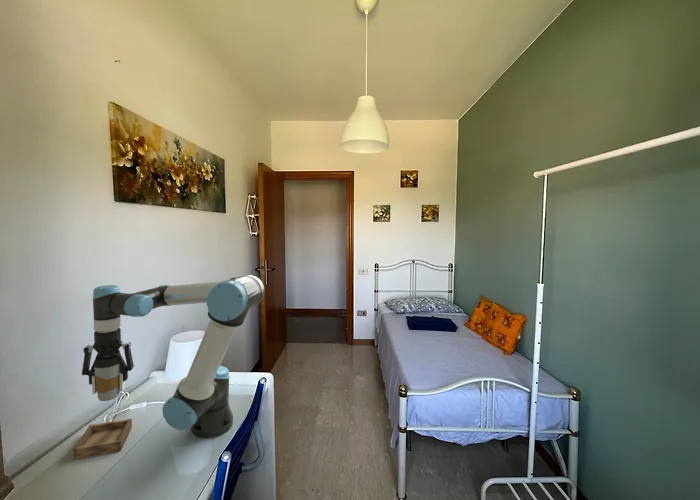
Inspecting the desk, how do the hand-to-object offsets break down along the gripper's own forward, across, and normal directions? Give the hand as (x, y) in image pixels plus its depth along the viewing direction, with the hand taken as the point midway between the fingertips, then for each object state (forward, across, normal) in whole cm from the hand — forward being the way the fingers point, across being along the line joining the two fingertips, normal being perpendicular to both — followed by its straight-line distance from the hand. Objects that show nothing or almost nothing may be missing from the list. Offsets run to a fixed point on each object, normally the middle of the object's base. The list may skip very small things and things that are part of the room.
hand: (109, 390), depth 114 cm
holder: (+17, 0, +4) cm, 17 cm away
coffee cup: (+2, 0, 0) cm, 2 cm away
